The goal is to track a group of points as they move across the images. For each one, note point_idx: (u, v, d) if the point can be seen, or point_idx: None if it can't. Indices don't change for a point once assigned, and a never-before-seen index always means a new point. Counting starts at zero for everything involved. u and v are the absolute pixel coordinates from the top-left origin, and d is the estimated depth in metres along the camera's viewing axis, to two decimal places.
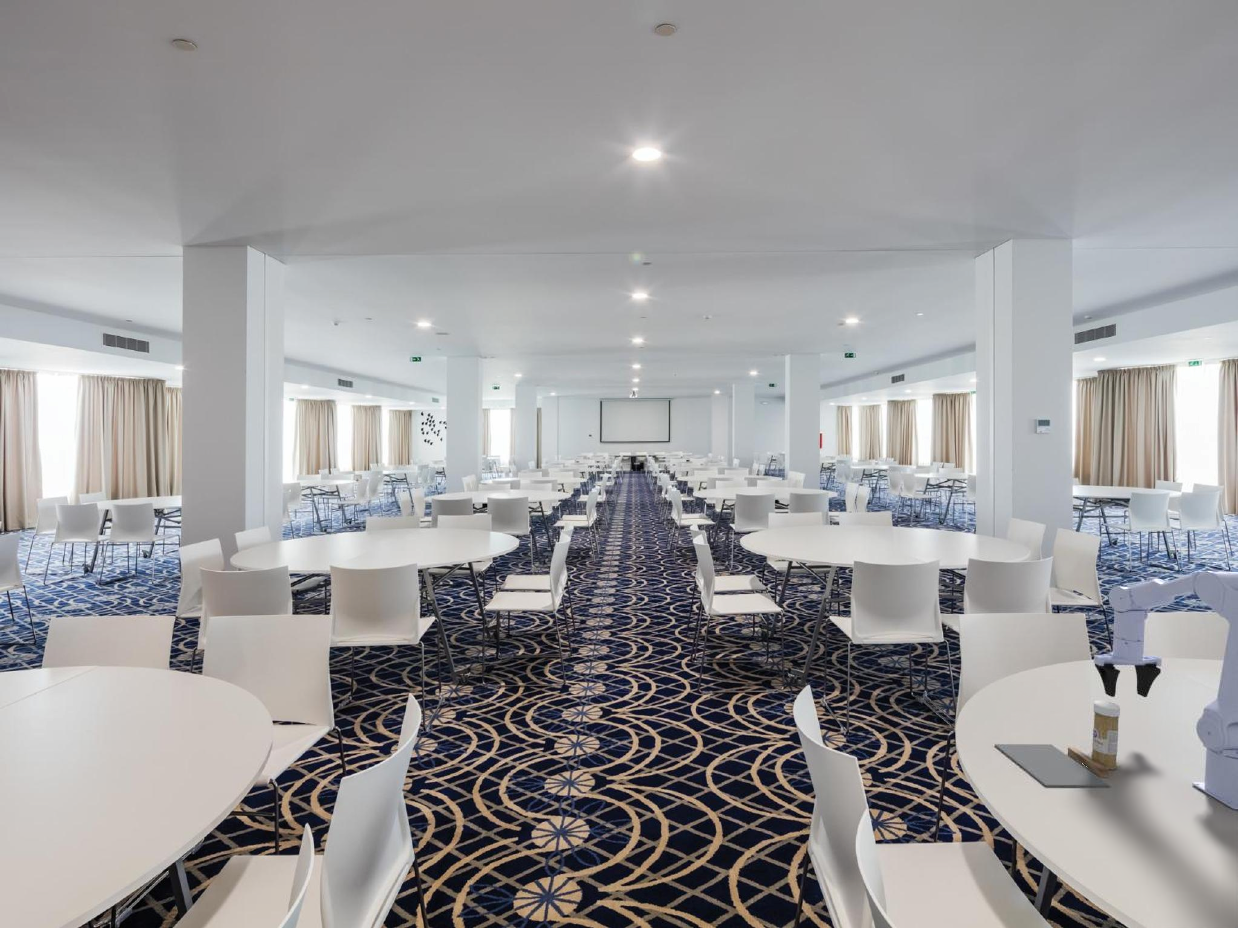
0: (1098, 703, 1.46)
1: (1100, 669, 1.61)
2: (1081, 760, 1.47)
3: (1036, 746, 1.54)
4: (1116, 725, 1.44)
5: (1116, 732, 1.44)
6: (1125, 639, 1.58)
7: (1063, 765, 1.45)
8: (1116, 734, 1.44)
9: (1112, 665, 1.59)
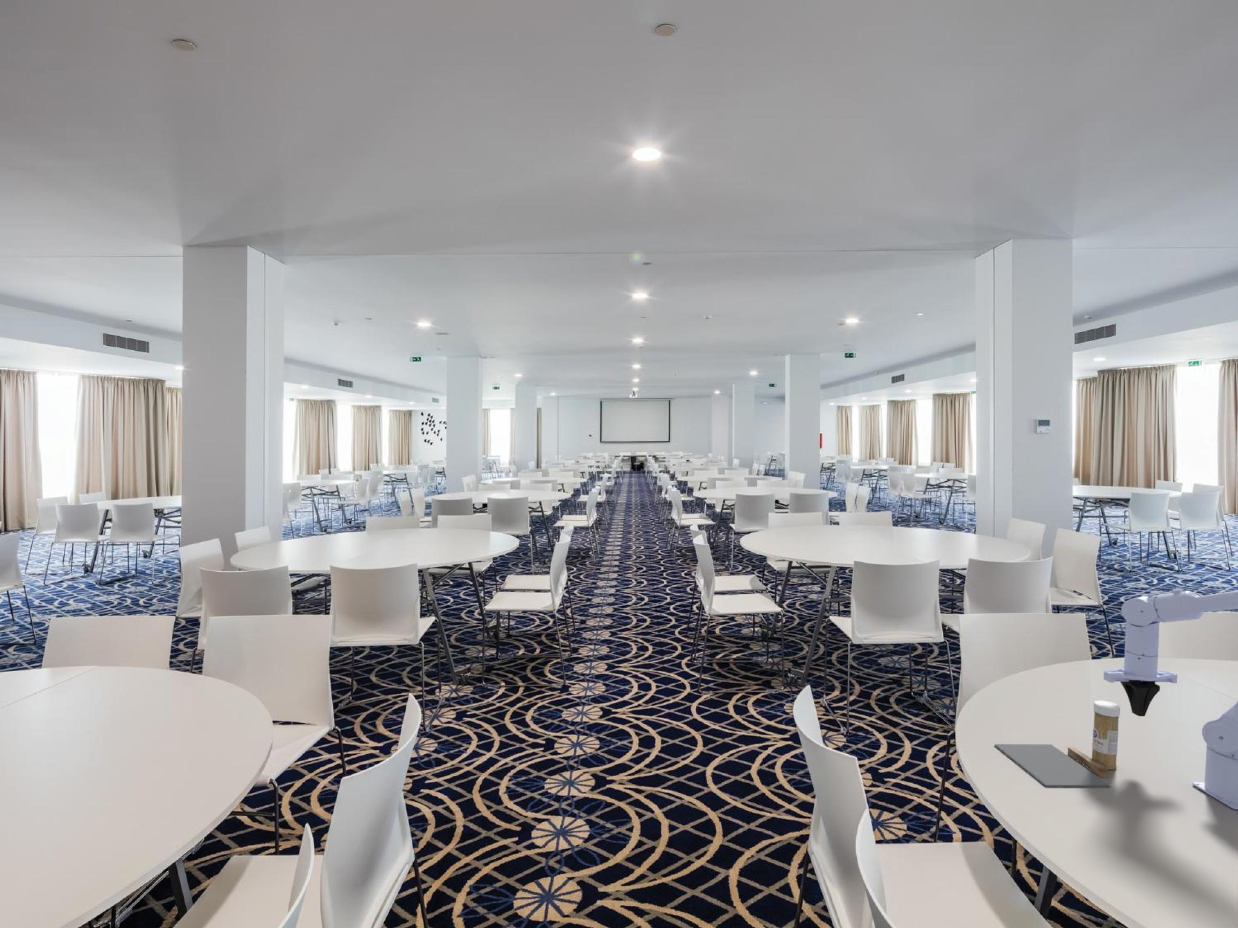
0: (1098, 703, 1.46)
1: (1126, 686, 1.49)
2: (1081, 760, 1.47)
3: (1036, 746, 1.54)
4: (1116, 725, 1.44)
5: (1116, 732, 1.44)
6: (1137, 654, 1.46)
7: (1063, 765, 1.45)
8: (1116, 734, 1.44)
9: (1139, 682, 1.47)
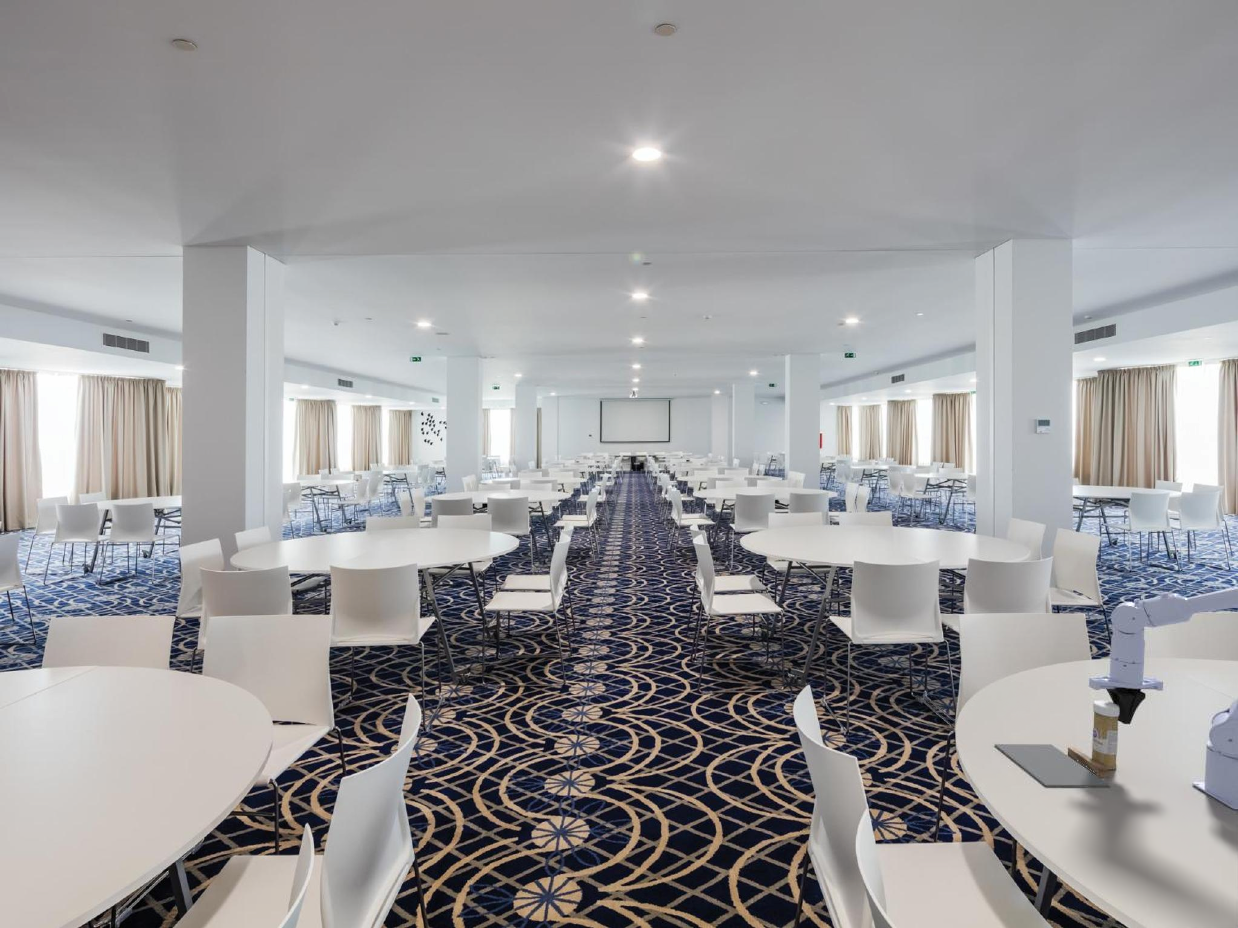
0: (1097, 703, 1.46)
1: (1112, 693, 1.47)
2: (1081, 760, 1.47)
3: (1036, 746, 1.54)
4: (1116, 725, 1.44)
5: (1116, 732, 1.44)
6: (1123, 661, 1.44)
7: (1063, 765, 1.45)
8: (1116, 734, 1.44)
9: (1125, 689, 1.45)
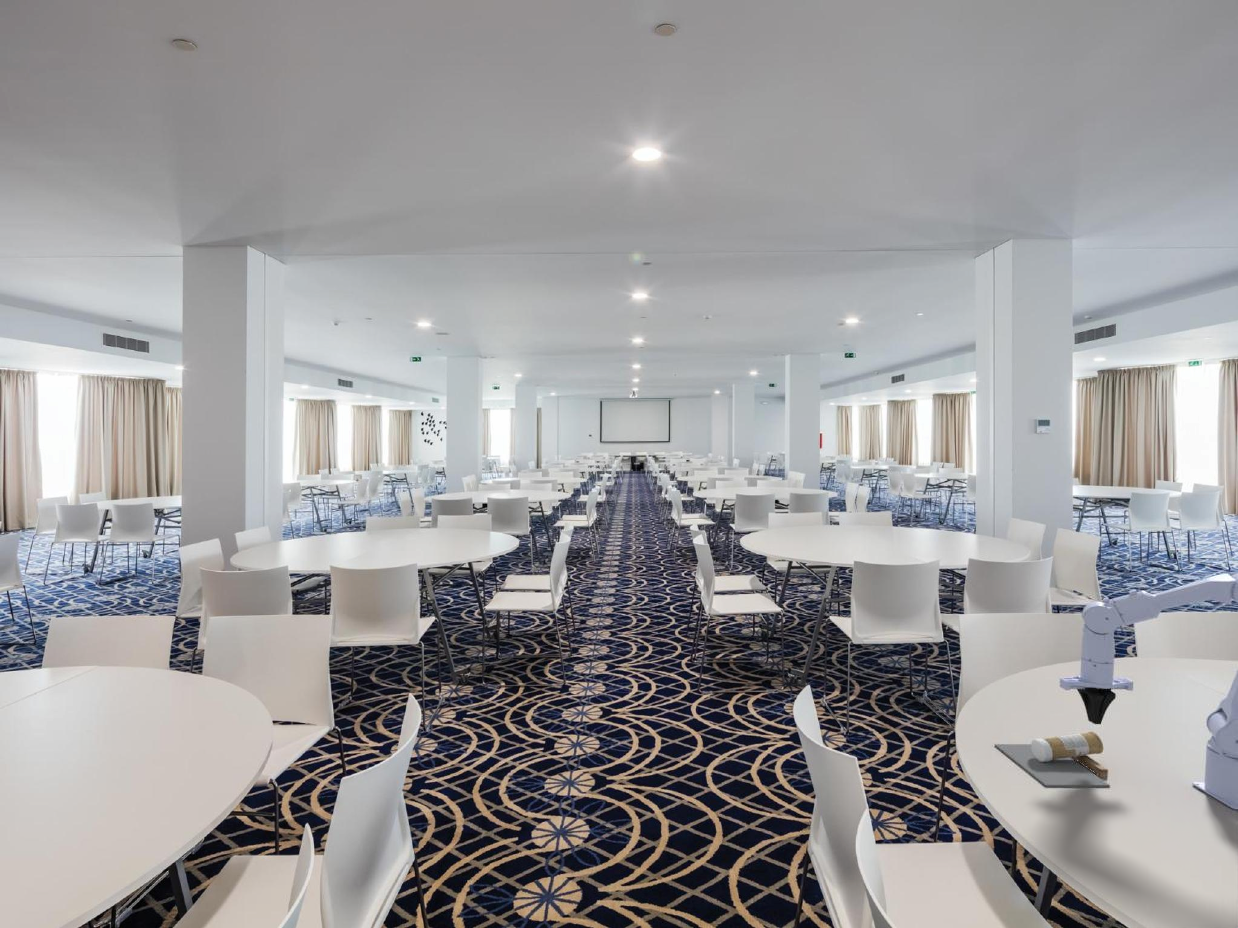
0: (1040, 758, 1.46)
1: (1082, 693, 1.47)
2: (1081, 760, 1.47)
3: None
4: (1056, 741, 1.46)
5: (1063, 740, 1.46)
6: (1093, 661, 1.44)
7: (1063, 765, 1.45)
8: (1065, 740, 1.46)
9: (1095, 689, 1.45)
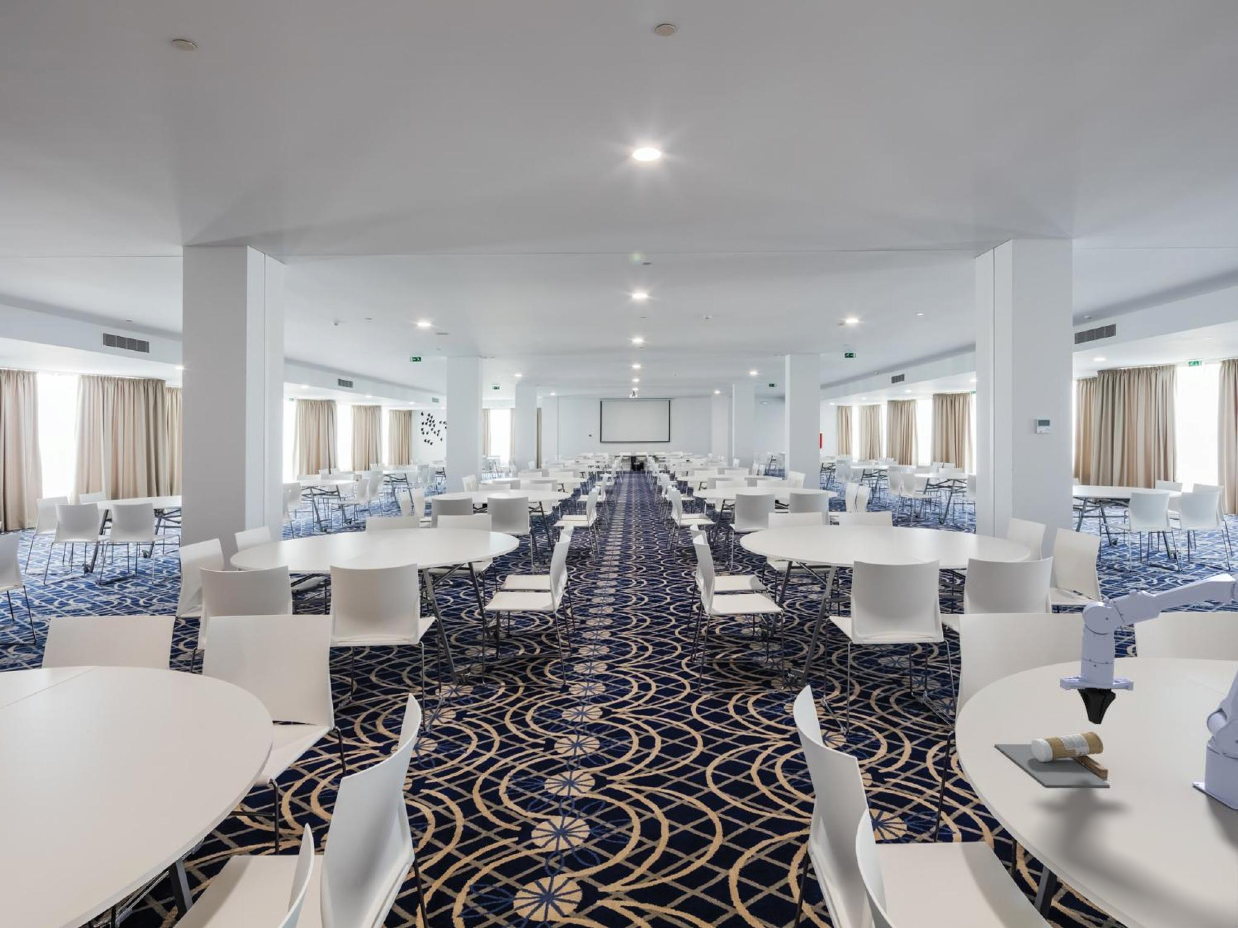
0: (1040, 758, 1.46)
1: (1083, 693, 1.47)
2: (1081, 760, 1.47)
3: None
4: (1057, 741, 1.46)
5: (1063, 740, 1.46)
6: (1093, 661, 1.44)
7: (1063, 765, 1.45)
8: (1065, 740, 1.46)
9: (1096, 689, 1.45)
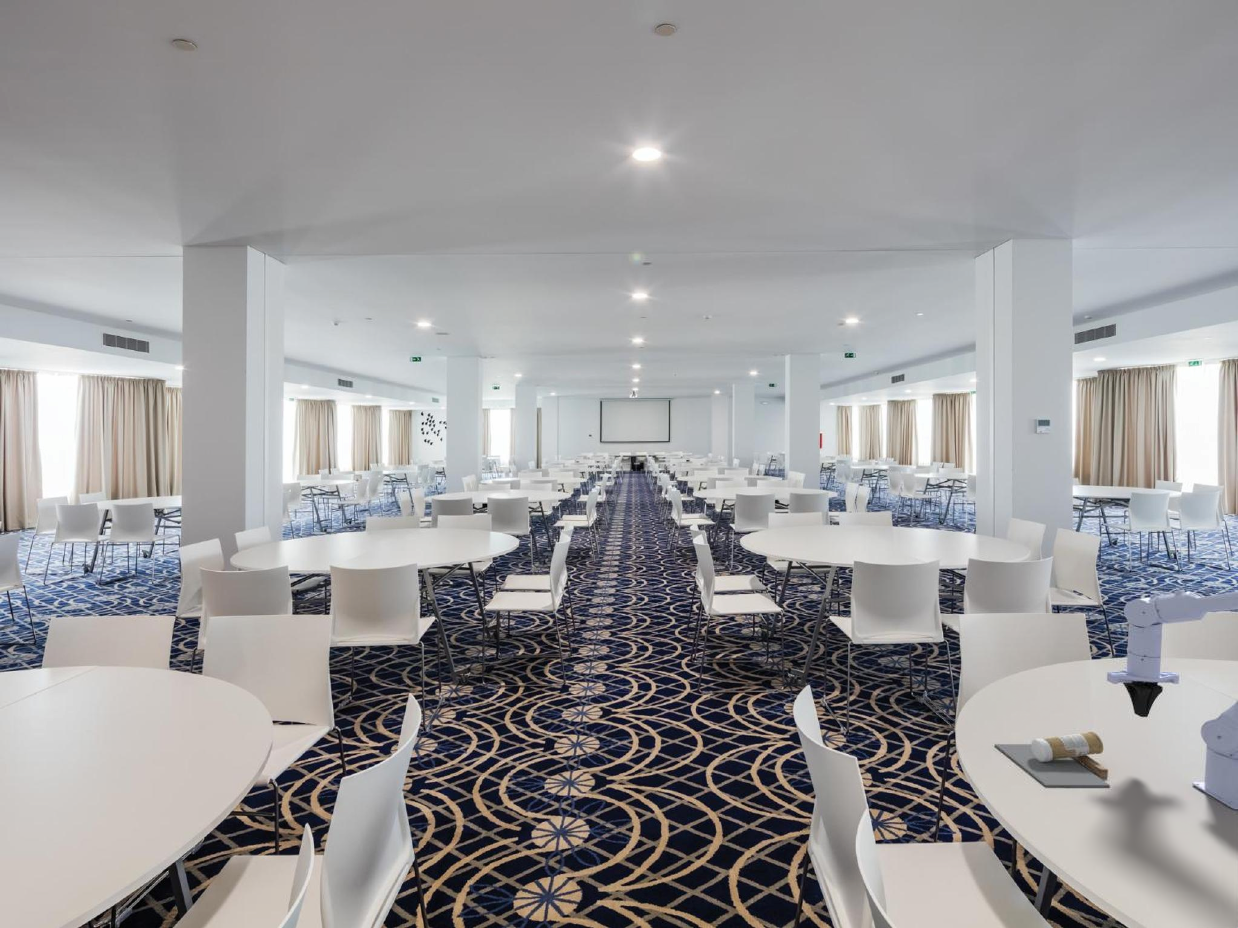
0: (1040, 758, 1.46)
1: (1129, 687, 1.49)
2: (1081, 760, 1.47)
3: None
4: (1057, 741, 1.46)
5: (1063, 740, 1.46)
6: (1141, 655, 1.46)
7: (1063, 765, 1.45)
8: (1065, 740, 1.46)
9: (1142, 683, 1.47)
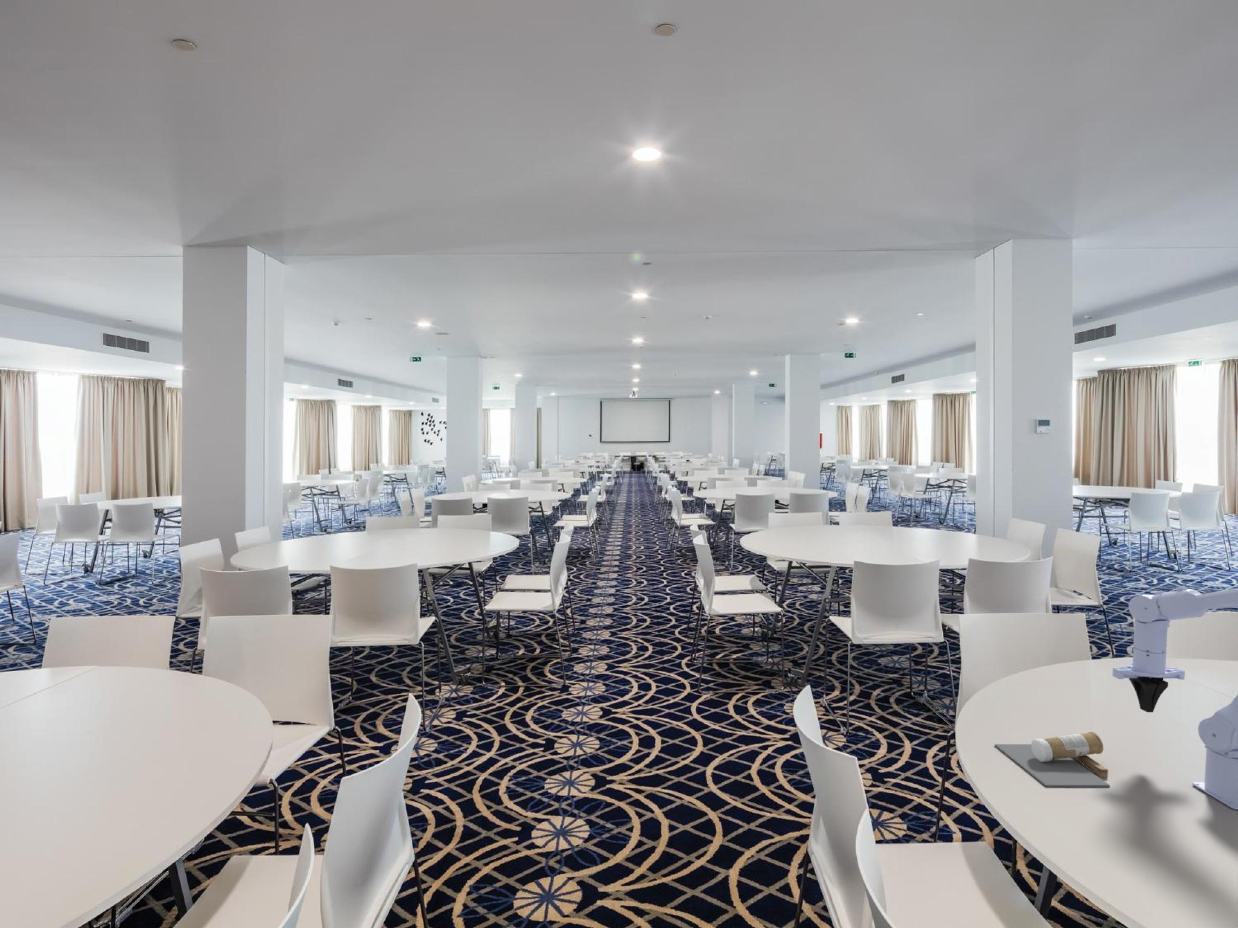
0: (1040, 758, 1.46)
1: (1135, 682, 1.51)
2: (1081, 760, 1.47)
3: None
4: (1057, 741, 1.46)
5: (1063, 740, 1.46)
6: (1146, 651, 1.48)
7: (1063, 765, 1.45)
8: (1065, 740, 1.46)
9: (1148, 678, 1.49)
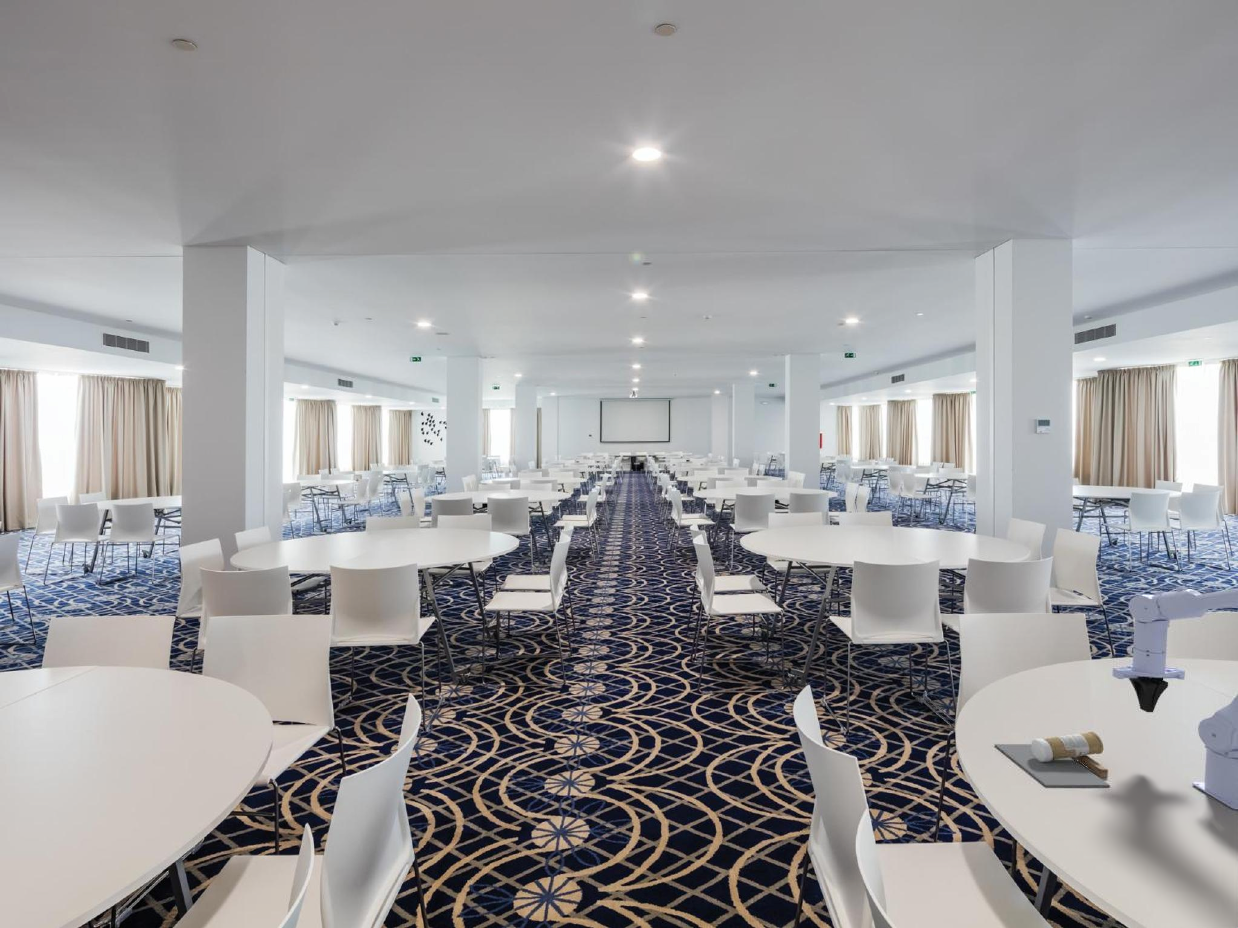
0: (1040, 758, 1.46)
1: (1135, 682, 1.51)
2: (1081, 760, 1.47)
3: None
4: (1057, 741, 1.46)
5: (1063, 740, 1.46)
6: (1146, 651, 1.48)
7: (1063, 765, 1.45)
8: (1065, 740, 1.46)
9: (1148, 678, 1.49)
